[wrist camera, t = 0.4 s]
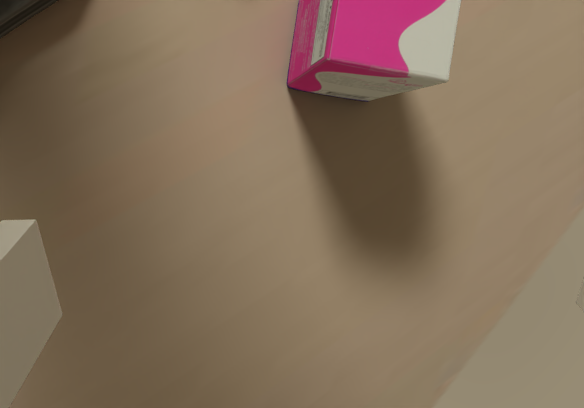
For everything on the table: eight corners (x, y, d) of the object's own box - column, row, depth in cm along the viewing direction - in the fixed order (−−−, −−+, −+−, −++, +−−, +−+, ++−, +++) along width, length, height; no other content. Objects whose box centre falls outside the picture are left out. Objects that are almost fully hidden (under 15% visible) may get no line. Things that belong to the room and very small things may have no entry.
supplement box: (383, 12, 33) (476, -47, 22) (368, 103, 34) (450, 91, 23) (297, -7, 32) (349, -78, 21) (283, 88, 33) (326, 68, 22)
